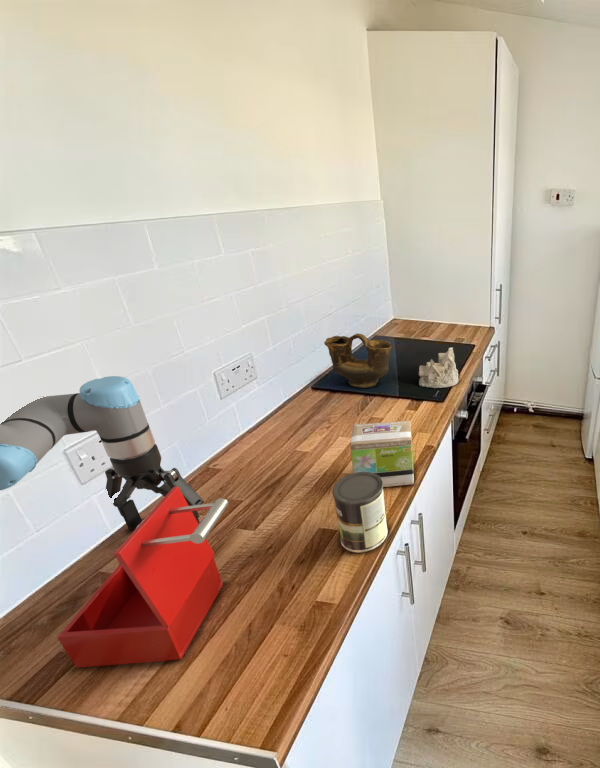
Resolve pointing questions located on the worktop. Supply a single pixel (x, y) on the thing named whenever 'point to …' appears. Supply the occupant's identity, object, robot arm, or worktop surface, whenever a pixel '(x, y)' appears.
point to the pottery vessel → (357, 369)
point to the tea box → (384, 451)
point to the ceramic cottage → (439, 371)
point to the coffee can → (360, 511)
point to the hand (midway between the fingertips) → (165, 528)
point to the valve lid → (169, 552)
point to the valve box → (135, 623)
